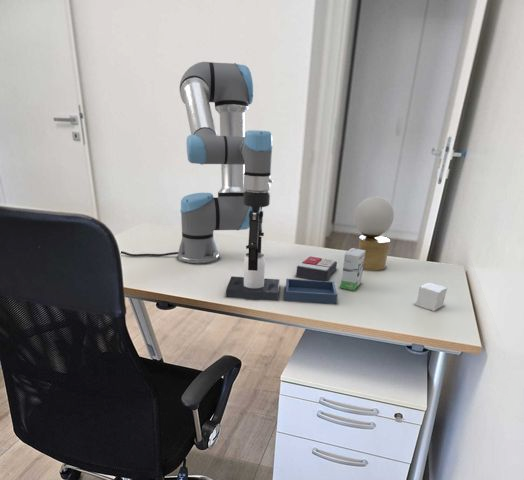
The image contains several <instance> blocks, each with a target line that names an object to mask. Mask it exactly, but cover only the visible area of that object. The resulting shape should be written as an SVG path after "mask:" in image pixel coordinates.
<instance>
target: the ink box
mask: <svg viewBox="0 0 524 480" xmlns="http://www.w3.org/2000/svg"><path fill="white" fill-rule="evenodd" d="M364 257H365V250H361V249H358V248H355V247H351V248H349V250H348V251H346V252H345V253H344V258H343V265H342V273H341V279H340V280H341V281H340V287H339V288H340V289H345V290H350V291H355V290H356V289H357V288H358V287H359V286H360V285H361V282H362V275H363V270H364V269H363V263H364Z"/></svg>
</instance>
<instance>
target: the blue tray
mask: <svg viewBox="0 0 524 480" xmlns="http://www.w3.org/2000/svg"><path fill="white" fill-rule="evenodd" d="M337 297H338V292H337V288H336V284H335V281H331V280H330V281H329V280H327V281H321V280H315V279H299V278H298V279H297V278H286V281H285V294H284V301H285V302H298V303H299V302H300V303H315V304H332V305H336V304H337Z"/></svg>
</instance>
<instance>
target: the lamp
mask: <svg viewBox="0 0 524 480" xmlns="http://www.w3.org/2000/svg"><path fill="white" fill-rule="evenodd" d="M394 218H395V212H394V208H393V206H392V204H391V203H390V201H388V200H387V199H386V198H384V197H382V196H376V195H375V196H369V197H366V198H365V199H363V200H362V201H361V202H360V203H359V204H358V205H357V207H356V209H355V211H354V216H353V221H354V224H355V227H356V229H357V230H358V232H360V233H361V234H362V235H360V236H359V237H358V244H357V249H361V250H365V257H364V263H363V270H365V271H373V272H374V271H375V272H376V271H382V270H384V269H385V268H386V265H387V259H388V253H389V248H390V243H391V240H390V239H389V238H388V237H385V236H382V235H383V234H385V233H386V232H387V231H388V230H389V229H390V228H391V226H392V224H393V222H394Z"/></svg>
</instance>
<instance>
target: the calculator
mask: <svg viewBox="0 0 524 480" xmlns="http://www.w3.org/2000/svg"><path fill="white" fill-rule="evenodd" d="M337 265H338V261H337V260H335V259H329V258H322V257H316V256H308V257H307V258H306V259H305V260H303V261H302V262H301V263H299V264H298V265H297V266H296V272H295V273H296V274H295V276H296V277H298V278H304V279H308V280H316V281H329V279H330V276H331V275H332V274H333V273H334V272H335V271H336V270H337Z"/></svg>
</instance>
